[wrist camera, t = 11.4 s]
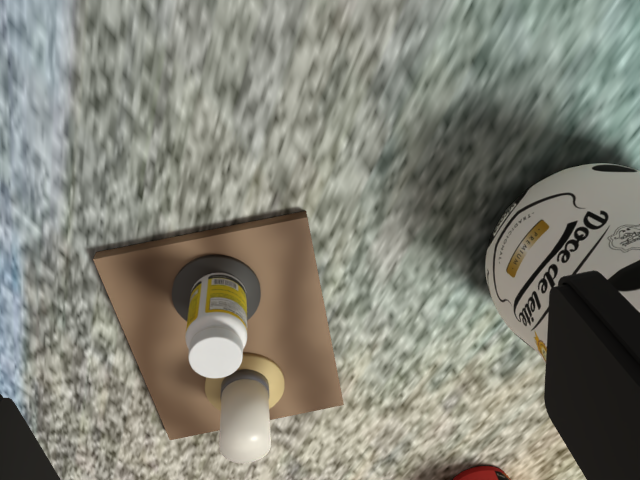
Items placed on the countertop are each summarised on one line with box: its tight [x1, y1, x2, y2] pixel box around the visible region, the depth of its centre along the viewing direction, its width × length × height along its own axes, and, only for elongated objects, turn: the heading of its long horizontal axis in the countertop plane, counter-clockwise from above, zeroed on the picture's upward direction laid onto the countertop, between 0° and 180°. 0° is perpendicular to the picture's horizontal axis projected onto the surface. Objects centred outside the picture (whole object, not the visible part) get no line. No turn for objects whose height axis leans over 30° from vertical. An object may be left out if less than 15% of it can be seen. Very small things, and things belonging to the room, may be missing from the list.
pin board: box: [93, 211, 344, 440], centre depth 54 cm, size 18×22×2 cm
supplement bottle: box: [185, 273, 247, 378], centre depth 46 cm, size 5×5×8 cm
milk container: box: [485, 163, 640, 363], centre depth 46 cm, size 17×17×18 cm
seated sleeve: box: [219, 369, 271, 463], centre depth 52 cm, size 5×5×7 cm
